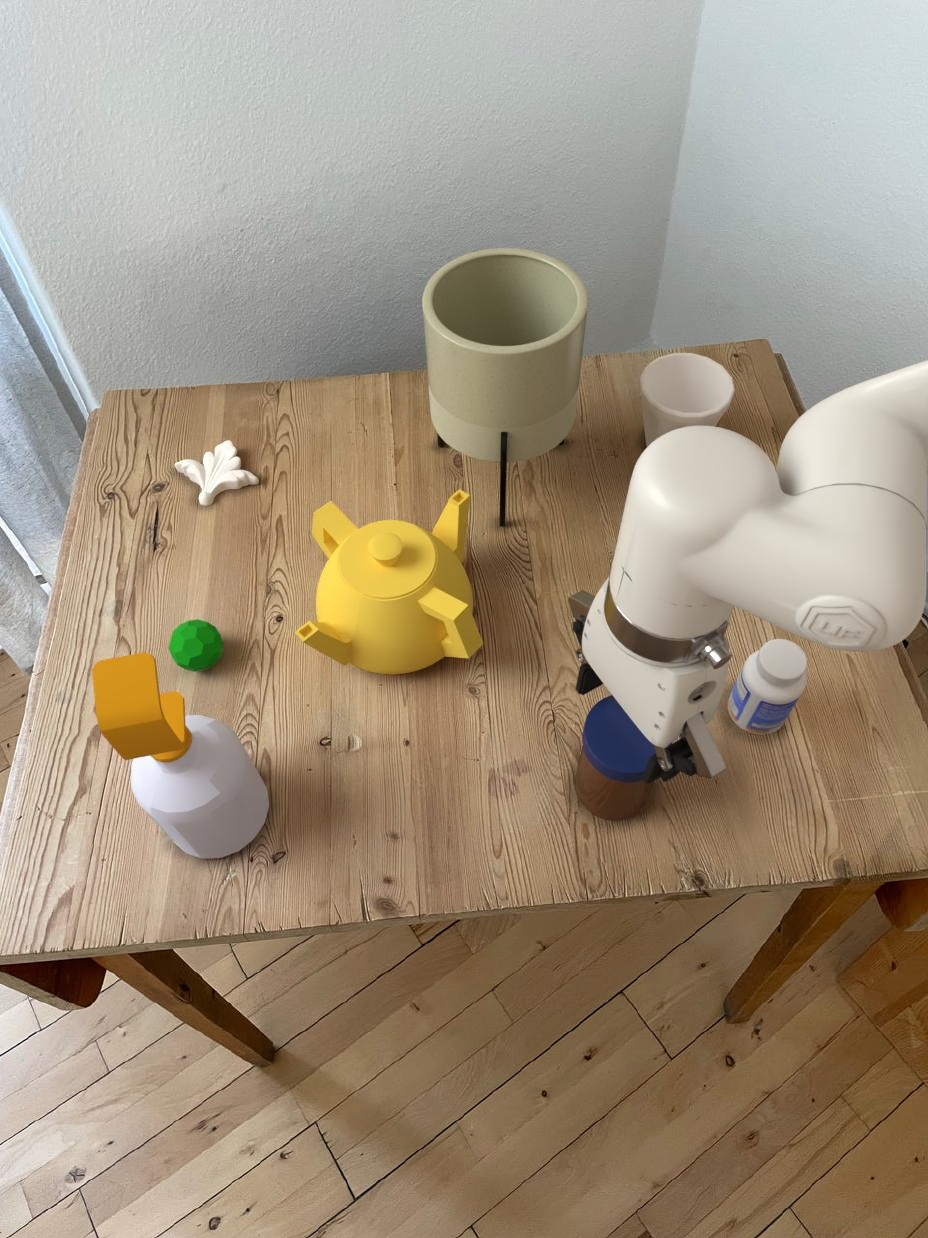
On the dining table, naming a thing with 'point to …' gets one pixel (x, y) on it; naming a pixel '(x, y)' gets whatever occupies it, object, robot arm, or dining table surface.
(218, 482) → the acanthus leaf ornament
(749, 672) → the pill bottle
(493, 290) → the planter
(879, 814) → the dining table surface
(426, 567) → the teapot
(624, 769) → the jar lid
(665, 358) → the cup
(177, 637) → the polyhedron
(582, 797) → the jam jar
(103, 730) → the soap bottle
